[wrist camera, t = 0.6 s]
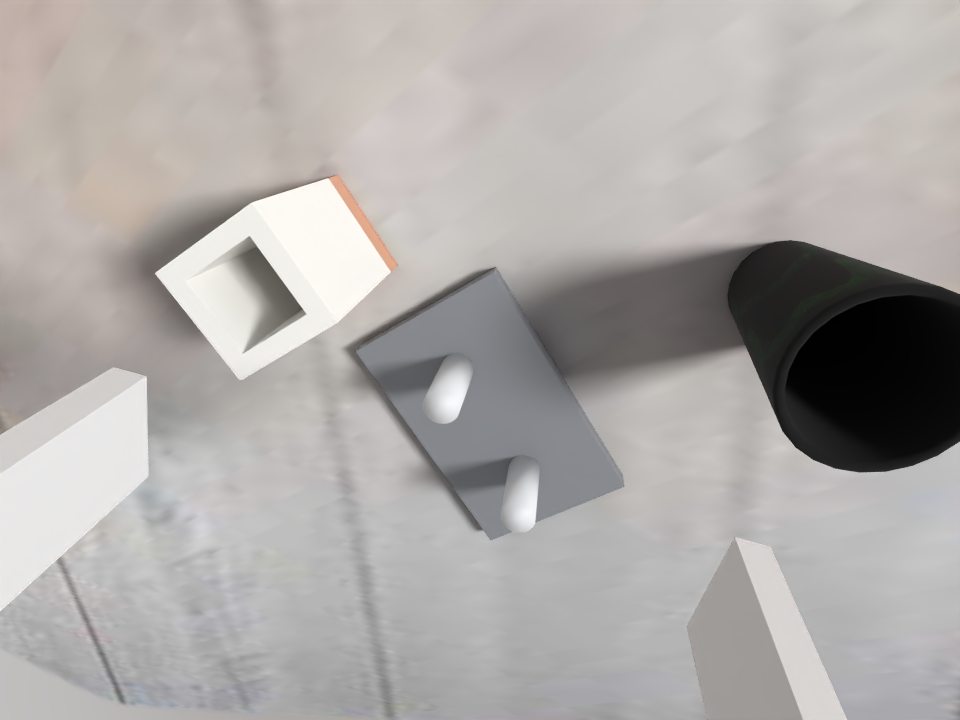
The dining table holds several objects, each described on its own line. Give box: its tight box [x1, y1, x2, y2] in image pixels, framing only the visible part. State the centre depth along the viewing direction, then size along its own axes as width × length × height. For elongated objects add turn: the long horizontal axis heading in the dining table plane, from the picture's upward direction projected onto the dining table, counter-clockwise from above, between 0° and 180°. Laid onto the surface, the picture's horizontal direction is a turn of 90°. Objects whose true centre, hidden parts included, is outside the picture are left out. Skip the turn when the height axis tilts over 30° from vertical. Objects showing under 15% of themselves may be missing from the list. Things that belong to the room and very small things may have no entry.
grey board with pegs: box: [355, 267, 624, 540], centre depth 35 cm, size 16×10×6 cm, turn 32°
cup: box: [728, 240, 960, 472], centre depth 27 cm, size 8×8×12 cm
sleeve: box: [155, 175, 398, 381], centre depth 31 cm, size 6×6×10 cm
